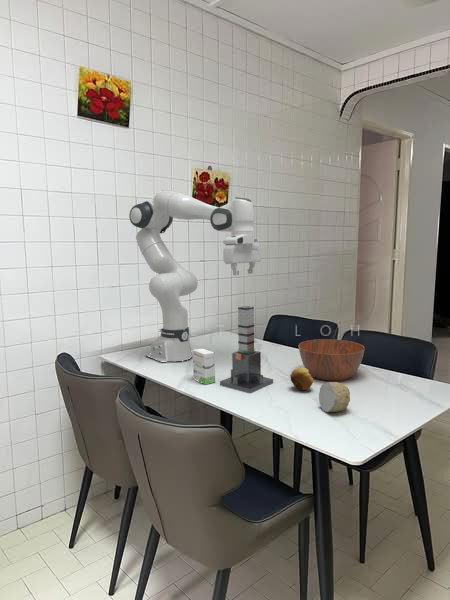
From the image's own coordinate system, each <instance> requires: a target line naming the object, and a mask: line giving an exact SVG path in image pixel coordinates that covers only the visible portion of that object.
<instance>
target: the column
mask: <svg viewBox="0 0 450 600" xmlns="http://www.w3.org/2000/svg"><path fill="white" fill-rule="evenodd" d="M237 310H238V311H237V317H238V318H237V319H238V322H237V327H238V333H237V336H238V349H237V351H238V352H239V353H240V354H244V355H250V354H253V353H254V351H255V311H254V310H255V307H254V306H246V305H243V306H238V307H237Z"/></svg>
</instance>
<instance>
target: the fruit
mask: <svg viewBox="0 0 450 600" xmlns="http://www.w3.org/2000/svg"><path fill="white" fill-rule="evenodd" d="M289 378H290V381H291V383H292V385H293V386H294V387H295V388H296V389H298V390H299V391H300V392H301V391H302V392H304V391H307V390H309V389H310V388H311V387H312V385H313V382H314V377H313V376H311V375H310V374H309V371H308V369H306V368H305V367H303V366H301V367H297V368H295V369H294V370H293V371H292V372H291V374H290V377H289Z"/></svg>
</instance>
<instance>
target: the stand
mask: <svg viewBox="0 0 450 600" xmlns="http://www.w3.org/2000/svg"><path fill="white" fill-rule="evenodd" d="M261 354H262V353H261V351H257V350H254V353H253V354H250V355H244V354H240V353H239V352H238V350H237V351H234V352H232V353H231V361H232V364H231V365H232V366H231V367H232V369H230V377H227V378H225V379H223V380H220V381H219V386H221V385H222V386H221V387H226V388H228V389H233V390H237V391H240V392H244V393H248V394H252V393H254V392H256V391H259V390H261V389H263V388H265V387H268V386H270V385H273V384H274V379H273V378H270V377H266V376H264V375H263V374H262V369H261V368H262V366H261V365H262V363H261V359H262V357H261Z"/></svg>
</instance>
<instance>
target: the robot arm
mask: <svg viewBox="0 0 450 600" xmlns="http://www.w3.org/2000/svg"><path fill="white" fill-rule="evenodd" d="M128 216H129V221H130V223H131V224H132V225H133V227H136V228H139V231H138V232H137V233H136V236H135V239H136V240H135V241H136V244H137V246H138V247H139V250H140V252H141V255H142V257H143V258H144V260H145V262H146V263H147V265H148V266H149V269H150V270H151V271H152V272H154V273H157V275H155V276H153V277H151V279H150V281H149V284H148V289H149V291H150V292H149V293H150V294H151V296H152V297H154V298H155V299H156V300H157V302H158V303H159V307H160V308H161V314H162V328H159V331H158V332H161V333H160V335H159V337H158V338H156V339H155V340H154V341H153V342H152V343H151V345H150V352H147V353H146V354H145V356H146V355H147V356H150V357H152V358H154V359H157V360H159V361H182V360H187V359H190V358H191V357H192V358H193V351H192V349H191V343H190V338H189V336H190V327H189V321H188V320H189V319H188V310H187V308H186V307H185V306H183V305H182V303H181V299H180V297H183V296H188V295H190V294H192V293H194V292H195V291H196V290H197V288H198V286H199V285H198V283H199V282H198V279H197V276H196V275H195V274H194V272H191V271H188V270H187V269H185V268H184V267H183V265H181V264H180V263H179V262H178V261H177V260H176V259H175V258H174V257H173V255H172V254H171V252H170V250H169V249H168V248H167V245H166V244H165V243H164V241H163V239H162V237H161V234H165V232H166V231H167V229H169V228H170V227H171V225H172V223H173V220H174V219H178V220H185V221H186V220H187V221H188V220H207V221H209V222H210V224H211V227H212V228H213V229H214V230H215V231H219V232H230V233H231V235H229V236H226V237H224V238H223V240H222V242H223V245H224V246H223V250H222V251H223V252H222V253H223V257H222V258H223V262H224V264H225V265H230V268H231V270H232V275H233V276H239V274H240V271H239V270H238V268H237V267H238V264H247V263H248V265H249V267H248V269H247V274H248V275H249V274H250V275H251V274H254V269H255V266H256V263H259V262H261V260H262V252H261V245H260V242H259V241H258V239H256V238H255V227H254V223H255V211H254V204H253V200H251V199H249V198H246V197H245V198H244V197H233V198H232V199H231V200H230V201H229V202H227V203H226V204H225V205H224V204H223V205H222V206H220V207H219V206H215V205H211V204H208V203H206V202H203V201H202V200H199V199H197V198H194V197H192V196H190V195H187V194H185V193H183V192H179V191H176V190H165V189H164V190H160V191H158V192H156V193H155V195H154V197H153V200H152V201H151V202H150V201H147V200H146V201H143V202H139V203H138V204H135V205H133V206H132V207H131V209H130V211H129V215H128ZM149 353H151V354H149ZM190 360H191V359H190ZM187 361H188V360H187ZM182 362H183V361H182Z"/></svg>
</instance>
